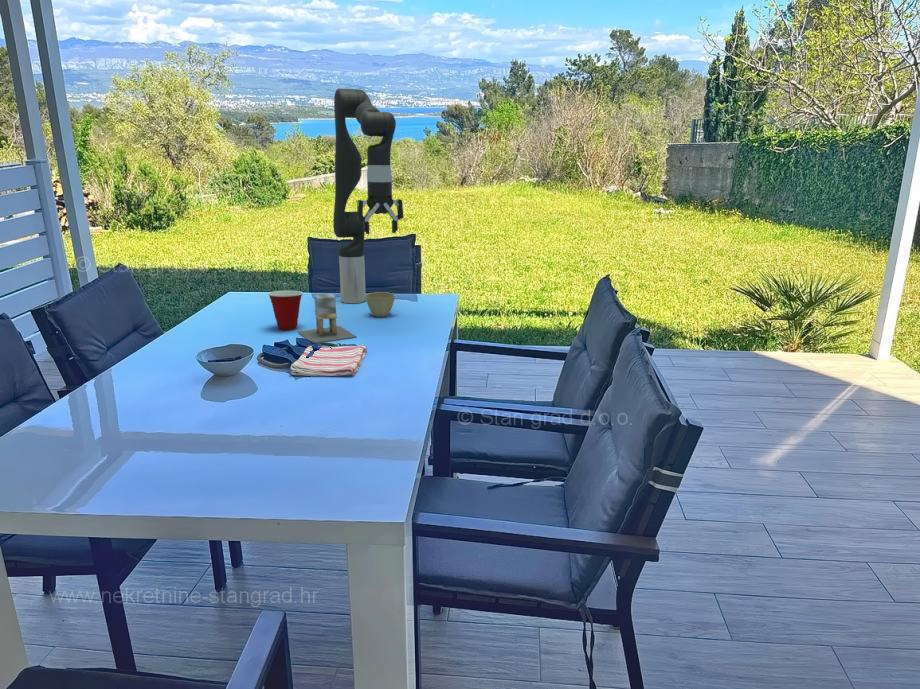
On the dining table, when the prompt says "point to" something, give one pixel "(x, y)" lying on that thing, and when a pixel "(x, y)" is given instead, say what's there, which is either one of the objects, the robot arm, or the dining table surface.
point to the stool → (325, 312)
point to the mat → (326, 335)
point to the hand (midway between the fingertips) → (380, 233)
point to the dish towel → (330, 361)
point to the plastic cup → (286, 308)
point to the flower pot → (380, 303)
